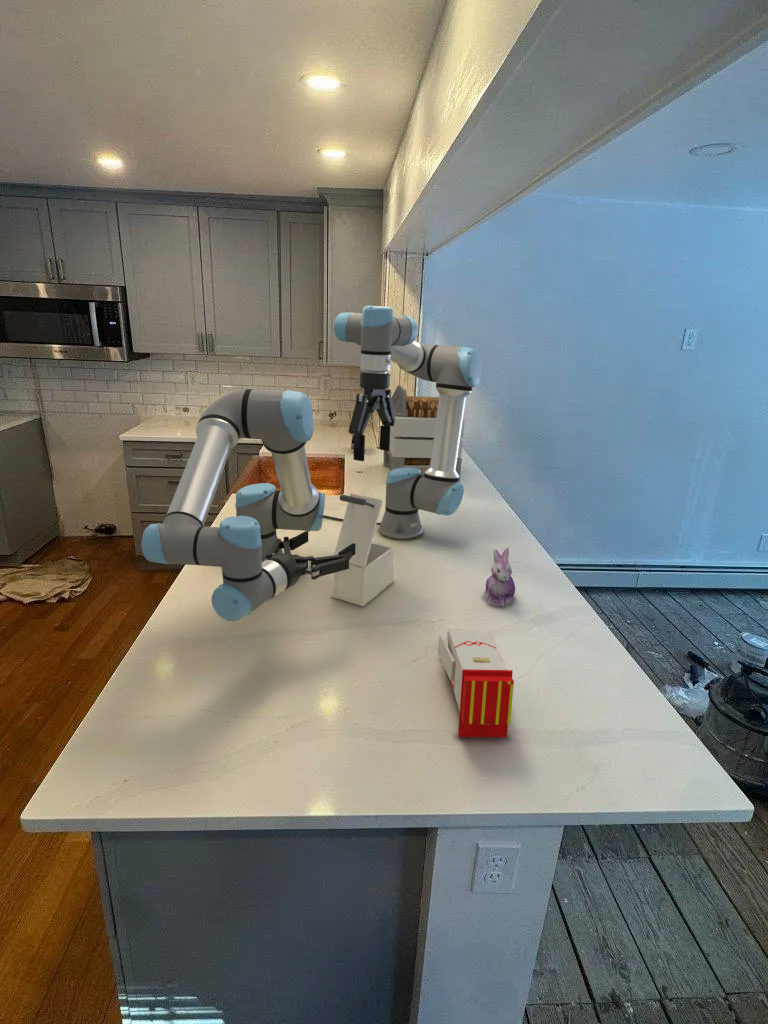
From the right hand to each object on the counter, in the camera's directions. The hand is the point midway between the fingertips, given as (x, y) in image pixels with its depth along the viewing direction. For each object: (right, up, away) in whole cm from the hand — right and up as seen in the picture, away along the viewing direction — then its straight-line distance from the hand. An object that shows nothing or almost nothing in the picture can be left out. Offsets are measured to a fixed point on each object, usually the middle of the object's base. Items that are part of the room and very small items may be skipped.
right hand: (372, 455), depth 148 cm
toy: (+21, -52, -30) cm, 64 cm away
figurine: (+35, -39, +9) cm, 53 cm away
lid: (-4, -20, +2) cm, 20 cm away
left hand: (-10, -22, -10) cm, 26 cm away
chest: (-2, -37, +11) cm, 39 cm away
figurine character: (-12, +19, +164) cm, 165 cm away
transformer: (+20, +4, +127) cm, 129 cm away
